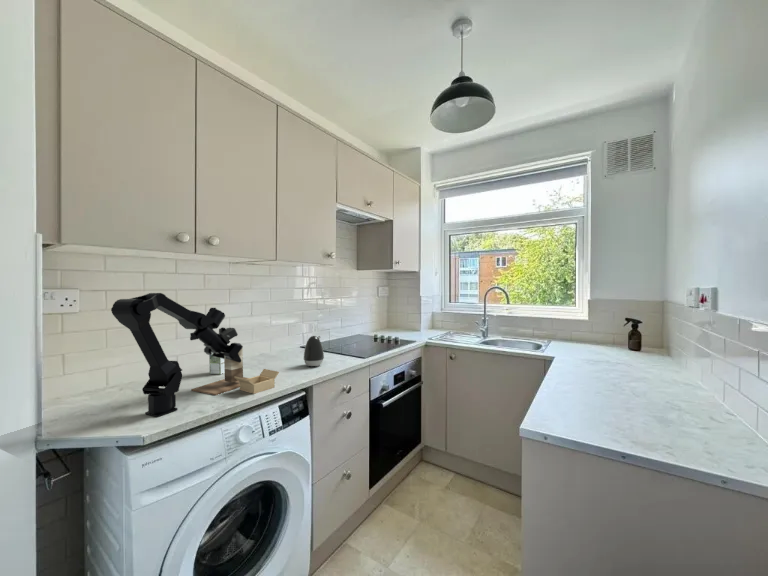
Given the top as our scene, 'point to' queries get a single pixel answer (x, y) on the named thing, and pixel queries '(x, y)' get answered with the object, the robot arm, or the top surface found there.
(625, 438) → the top surface
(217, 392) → the walnut board
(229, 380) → the tall box
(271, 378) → the carton
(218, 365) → the syrup box
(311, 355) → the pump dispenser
